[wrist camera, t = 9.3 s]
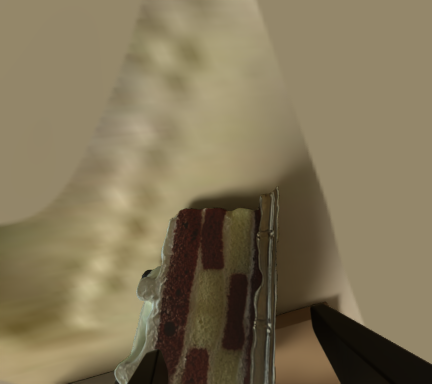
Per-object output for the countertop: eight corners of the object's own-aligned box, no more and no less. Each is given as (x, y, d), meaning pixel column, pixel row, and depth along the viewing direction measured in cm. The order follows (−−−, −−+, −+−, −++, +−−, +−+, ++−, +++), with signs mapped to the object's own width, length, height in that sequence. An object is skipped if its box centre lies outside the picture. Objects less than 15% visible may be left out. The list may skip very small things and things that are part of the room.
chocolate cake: (145, 166, 12) (-37, 562, 5) (282, 170, 10) (293, 732, 4) (187, 240, 19) (138, 437, 13) (269, 248, 18) (265, 475, 11)
